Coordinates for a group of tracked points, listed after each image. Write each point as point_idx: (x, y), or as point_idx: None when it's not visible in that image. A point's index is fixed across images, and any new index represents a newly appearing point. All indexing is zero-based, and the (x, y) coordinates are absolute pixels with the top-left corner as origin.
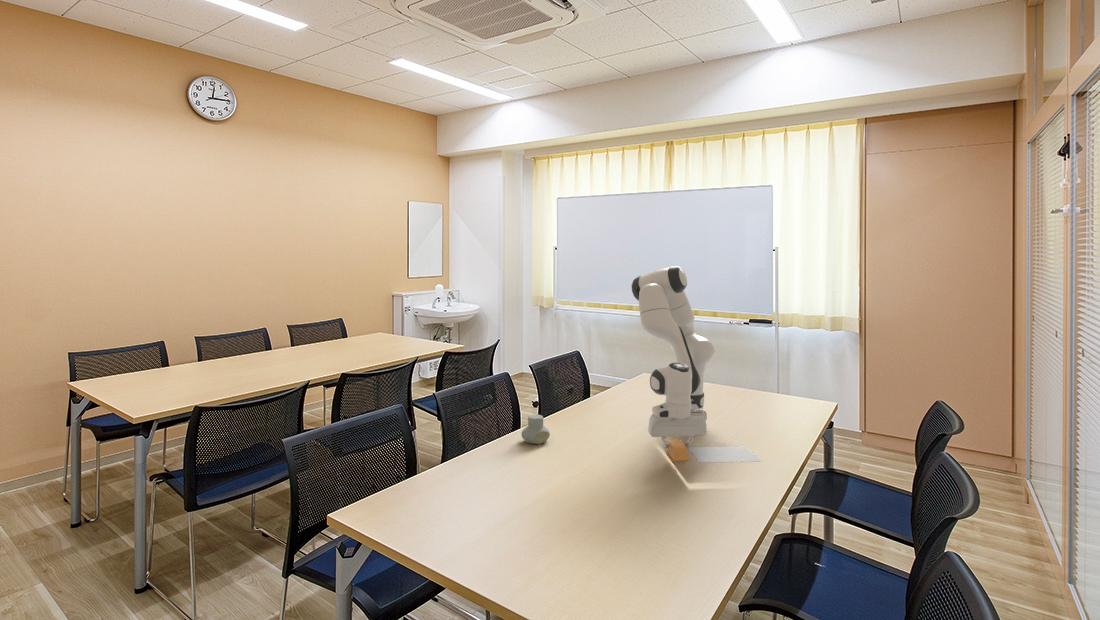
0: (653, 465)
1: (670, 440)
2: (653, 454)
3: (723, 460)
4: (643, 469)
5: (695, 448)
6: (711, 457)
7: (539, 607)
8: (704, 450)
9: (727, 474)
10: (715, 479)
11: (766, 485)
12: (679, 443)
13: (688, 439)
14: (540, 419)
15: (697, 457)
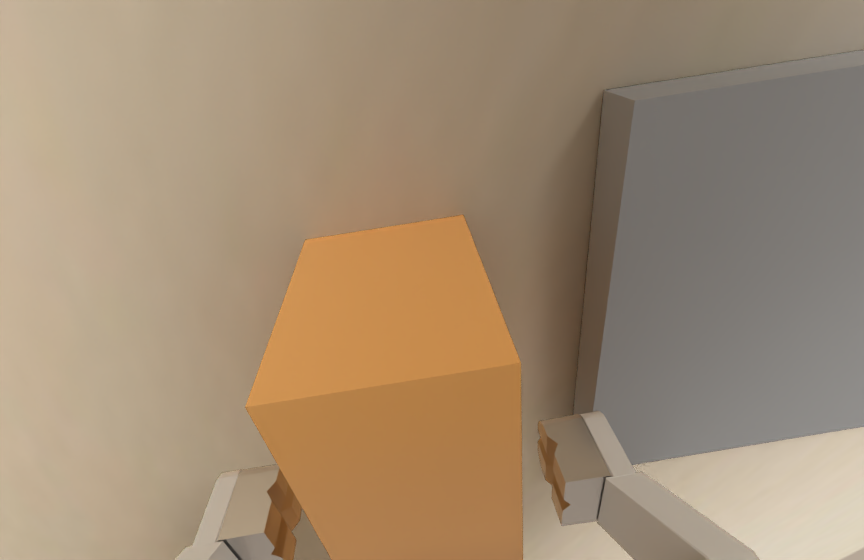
0: (190, 467)
1: (316, 444)
2: (122, 240)
3: (813, 415)
4: (126, 524)
5: (752, 129)
6: (755, 374)
7: None
8: (827, 197)
9: (697, 494)
10: (589, 544)
11: (804, 547)
12: (460, 516)
13: (648, 524)
14: None
15: (616, 393)
